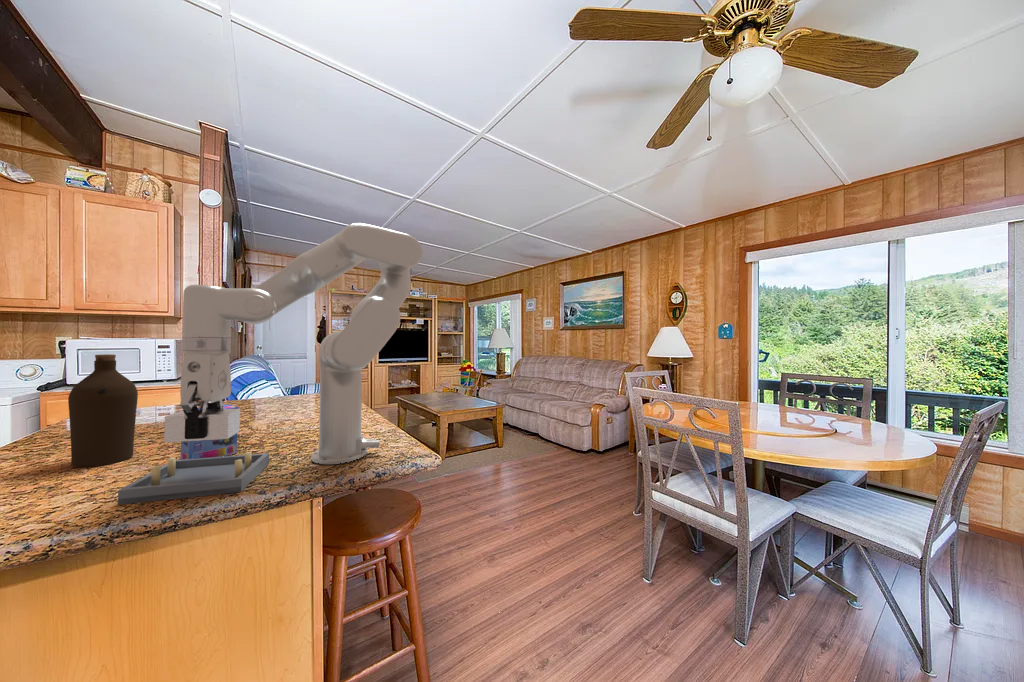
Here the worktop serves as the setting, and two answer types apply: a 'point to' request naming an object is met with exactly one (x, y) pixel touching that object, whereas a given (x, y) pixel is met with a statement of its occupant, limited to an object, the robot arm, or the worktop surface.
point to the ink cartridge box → (210, 446)
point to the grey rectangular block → (218, 425)
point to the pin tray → (195, 478)
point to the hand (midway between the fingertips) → (204, 433)
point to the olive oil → (102, 416)
